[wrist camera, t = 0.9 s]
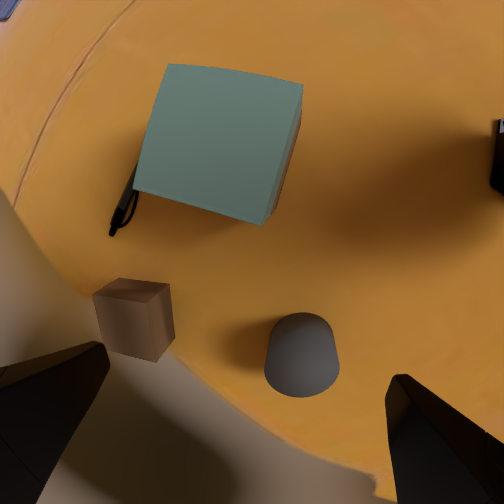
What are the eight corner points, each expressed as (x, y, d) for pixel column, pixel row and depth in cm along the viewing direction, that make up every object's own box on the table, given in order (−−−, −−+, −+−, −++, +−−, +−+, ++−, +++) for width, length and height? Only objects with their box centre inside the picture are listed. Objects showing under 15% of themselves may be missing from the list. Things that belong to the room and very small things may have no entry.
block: (170, 283, 21) (146, 303, 17) (175, 336, 22) (156, 362, 19) (120, 277, 22) (92, 294, 18) (128, 327, 23) (105, 349, 19)
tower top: (301, 109, 13) (303, 84, 9) (270, 214, 15) (260, 226, 11) (197, 88, 13) (168, 63, 10) (169, 185, 15) (132, 188, 11)
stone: (343, 322, 20) (352, 351, 16) (318, 370, 21) (321, 403, 17) (281, 303, 20) (278, 331, 16) (262, 355, 21) (255, 386, 18)
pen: (124, 238, 21) (119, 244, 20) (108, 230, 21) (103, 234, 20) (206, 85, 17) (205, 82, 16) (187, 76, 17) (185, 72, 16)
